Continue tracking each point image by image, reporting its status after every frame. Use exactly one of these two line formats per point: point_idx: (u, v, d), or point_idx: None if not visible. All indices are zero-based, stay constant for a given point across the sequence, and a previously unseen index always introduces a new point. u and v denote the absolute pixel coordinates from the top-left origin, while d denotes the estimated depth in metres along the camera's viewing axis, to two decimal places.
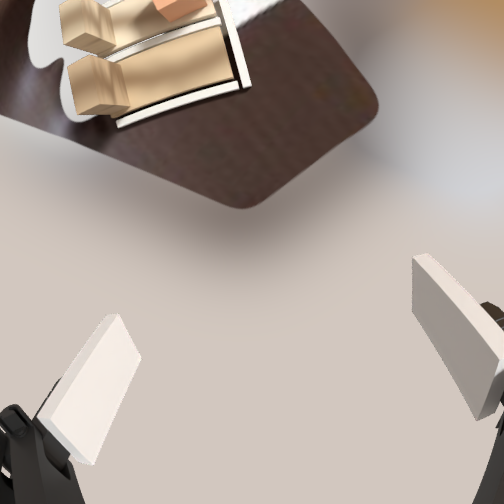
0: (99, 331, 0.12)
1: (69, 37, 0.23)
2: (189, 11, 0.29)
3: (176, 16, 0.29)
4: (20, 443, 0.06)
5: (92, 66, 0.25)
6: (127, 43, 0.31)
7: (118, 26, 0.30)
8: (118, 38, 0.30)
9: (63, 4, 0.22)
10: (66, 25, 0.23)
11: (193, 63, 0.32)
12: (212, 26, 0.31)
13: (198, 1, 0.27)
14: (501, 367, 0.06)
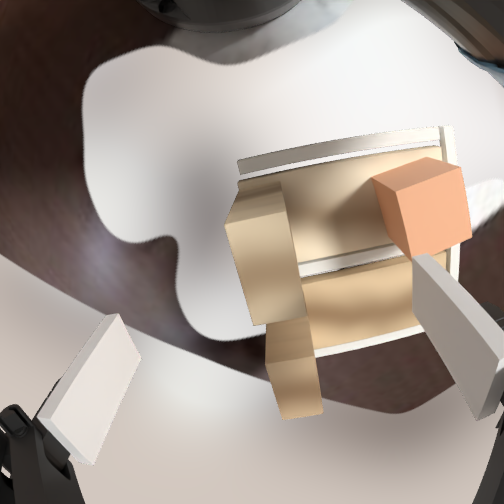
0: (99, 331, 0.12)
1: (268, 316, 0.17)
2: None
3: None
4: (20, 443, 0.06)
5: (316, 371, 0.19)
6: (316, 257, 0.24)
7: (299, 221, 0.23)
8: (299, 245, 0.24)
9: (238, 227, 0.15)
10: (256, 287, 0.16)
11: (406, 302, 0.25)
12: None
13: None
14: (501, 367, 0.06)
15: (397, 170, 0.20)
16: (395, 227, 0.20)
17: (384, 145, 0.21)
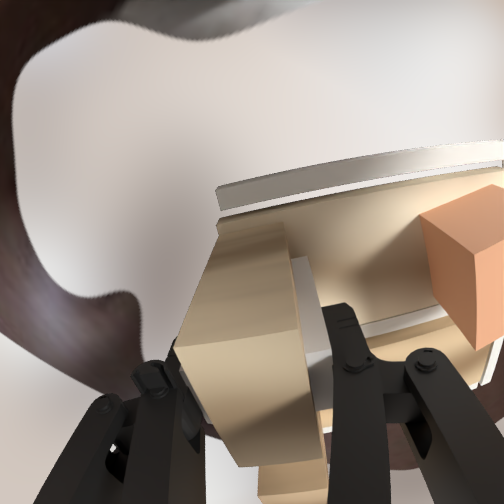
0: None
1: (262, 460, 0.09)
2: None
3: None
4: (153, 406, 0.08)
5: None
6: None
7: None
8: None
9: (202, 353, 0.07)
10: (241, 432, 0.08)
11: None
12: None
13: None
14: (312, 361, 0.08)
15: (458, 206, 0.13)
16: (454, 295, 0.12)
17: (438, 166, 0.13)
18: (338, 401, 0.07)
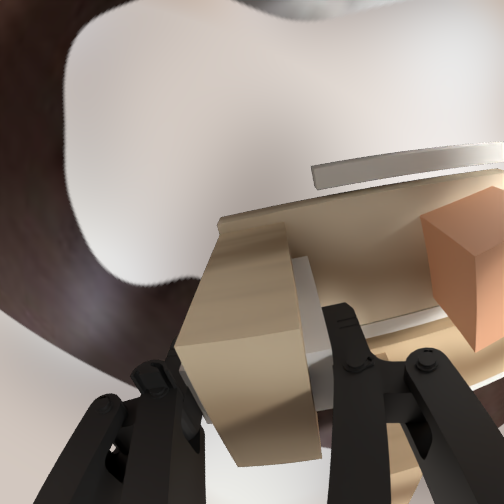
0: None
1: (261, 460, 0.09)
2: None
3: None
4: (153, 406, 0.08)
5: (420, 474, 0.10)
6: None
7: None
8: None
9: (203, 353, 0.07)
10: (241, 432, 0.08)
11: (491, 353, 0.17)
12: None
13: None
14: (312, 361, 0.08)
15: (459, 207, 0.13)
16: (454, 296, 0.12)
17: (501, 160, 0.13)
18: (338, 401, 0.07)
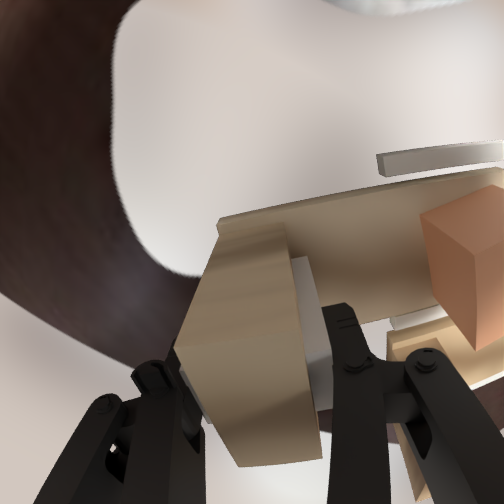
0: None
1: (262, 460, 0.09)
2: None
3: None
4: (153, 406, 0.08)
5: None
6: None
7: None
8: None
9: (202, 353, 0.07)
10: (241, 432, 0.08)
11: None
12: None
13: None
14: (312, 361, 0.08)
15: (458, 206, 0.13)
16: (454, 295, 0.12)
17: None
18: (338, 401, 0.07)
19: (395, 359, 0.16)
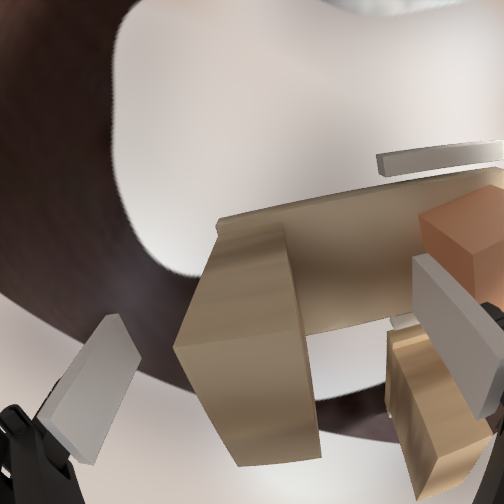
0: (99, 331, 0.12)
1: (261, 459, 0.09)
2: None
3: None
4: (20, 443, 0.06)
5: (482, 447, 0.10)
6: (332, 328, 0.16)
7: (310, 281, 0.15)
8: (309, 313, 0.16)
9: (201, 353, 0.07)
10: (241, 432, 0.09)
11: None
12: None
13: None
14: (501, 367, 0.06)
15: (456, 206, 0.13)
16: None
17: None
18: None
19: (395, 358, 0.16)
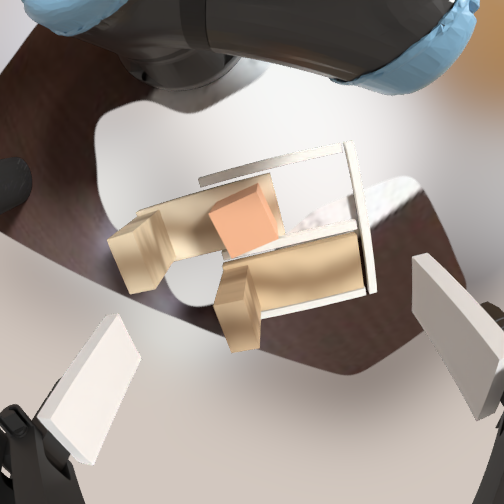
0: (99, 331, 0.12)
1: (136, 289, 0.30)
2: None
3: None
4: (20, 443, 0.06)
5: (247, 312, 0.30)
6: (188, 257, 0.37)
7: (174, 233, 0.36)
8: (177, 249, 0.37)
9: (113, 241, 0.28)
10: (127, 272, 0.29)
11: (328, 273, 0.37)
12: None
13: None
14: (501, 367, 0.06)
15: (231, 196, 0.33)
16: None
17: (297, 161, 0.33)
18: None
19: (223, 274, 0.37)
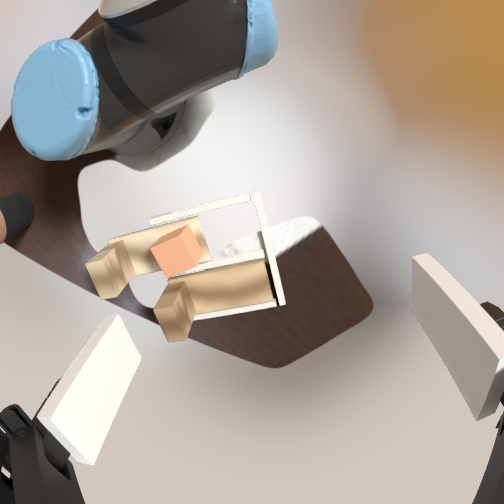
0: (99, 331, 0.12)
1: (104, 296, 0.43)
2: None
3: None
4: (20, 443, 0.06)
5: (175, 315, 0.44)
6: (144, 273, 0.50)
7: (133, 257, 0.49)
8: (136, 267, 0.50)
9: (89, 264, 0.41)
10: (98, 285, 0.42)
11: (243, 289, 0.50)
12: (257, 257, 0.49)
13: None
14: (501, 367, 0.06)
15: (169, 233, 0.46)
16: None
17: (216, 207, 0.46)
18: None
19: None
